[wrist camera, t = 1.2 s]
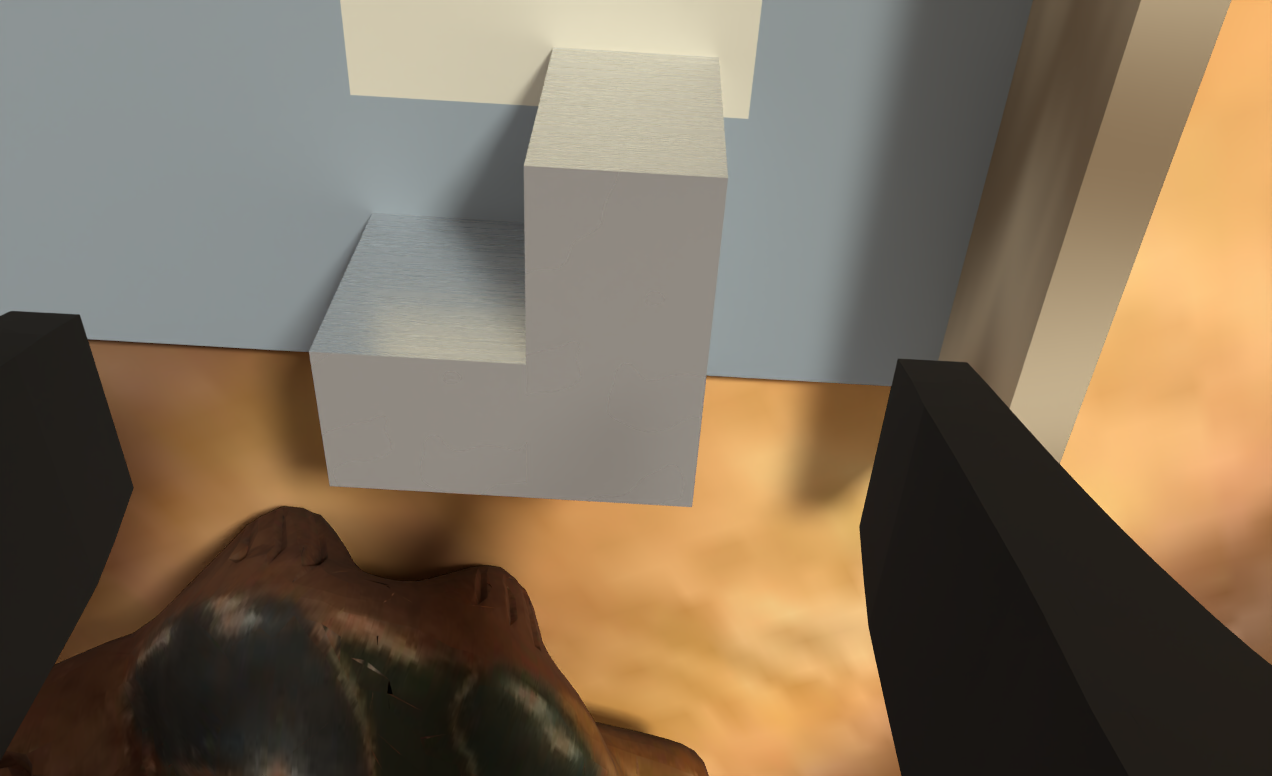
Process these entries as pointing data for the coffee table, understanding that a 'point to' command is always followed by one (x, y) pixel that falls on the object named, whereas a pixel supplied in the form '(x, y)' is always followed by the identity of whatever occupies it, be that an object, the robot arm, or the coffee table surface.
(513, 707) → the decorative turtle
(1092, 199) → the walls
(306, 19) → the board
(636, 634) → the coffee table surface
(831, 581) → the coffee table surface
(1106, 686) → the robot arm
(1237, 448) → the coffee table surface
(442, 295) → the bracket
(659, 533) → the coffee table surface
